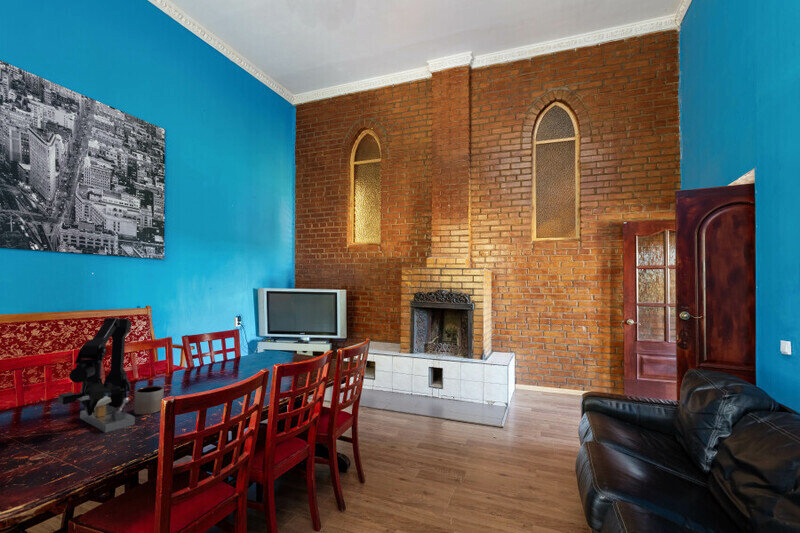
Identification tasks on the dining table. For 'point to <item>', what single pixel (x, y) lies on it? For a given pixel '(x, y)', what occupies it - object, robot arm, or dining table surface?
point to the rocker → (103, 401)
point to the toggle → (122, 405)
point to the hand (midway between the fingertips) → (89, 415)
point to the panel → (109, 419)
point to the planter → (148, 400)
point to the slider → (100, 410)
